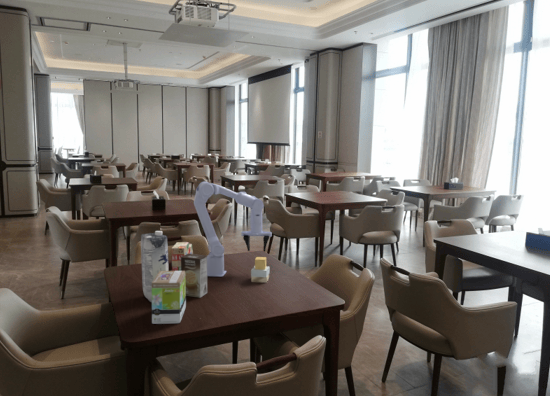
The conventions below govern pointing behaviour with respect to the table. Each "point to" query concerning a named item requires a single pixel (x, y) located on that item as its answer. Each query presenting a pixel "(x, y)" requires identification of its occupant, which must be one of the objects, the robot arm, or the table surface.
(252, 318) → the table surface
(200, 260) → the coffee box
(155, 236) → the juice carton
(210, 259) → the robot arm
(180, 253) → the red cream box
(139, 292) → the table surface
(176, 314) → the tea box
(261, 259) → the mustard cube
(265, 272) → the grey-blue slab
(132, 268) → the table surface
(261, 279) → the birch slab
